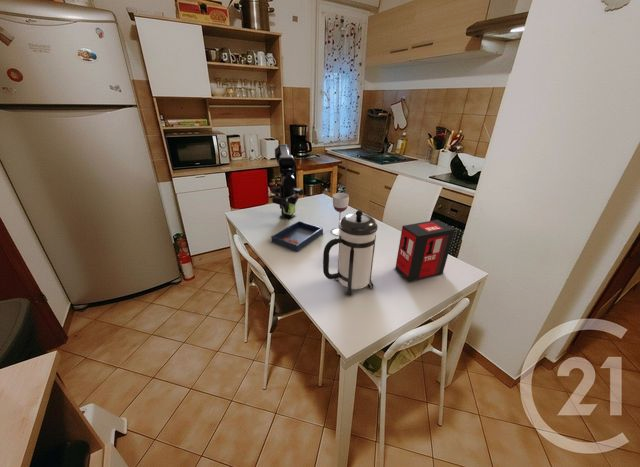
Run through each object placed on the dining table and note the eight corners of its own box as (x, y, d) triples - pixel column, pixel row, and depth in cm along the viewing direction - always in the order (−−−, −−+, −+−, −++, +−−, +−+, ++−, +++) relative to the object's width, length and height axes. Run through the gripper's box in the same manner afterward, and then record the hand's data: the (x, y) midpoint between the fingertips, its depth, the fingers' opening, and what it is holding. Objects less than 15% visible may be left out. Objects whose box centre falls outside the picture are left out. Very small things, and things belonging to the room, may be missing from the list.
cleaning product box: (408, 282, 100) (418, 236, 91) (395, 269, 108) (402, 225, 99) (442, 273, 106) (455, 229, 96) (427, 261, 113) (437, 219, 104)
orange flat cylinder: (285, 238, 128) (285, 237, 128) (292, 241, 127) (292, 239, 126) (280, 242, 126) (280, 240, 125) (286, 244, 124) (286, 242, 123)
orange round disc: (292, 241, 126) (292, 239, 126) (299, 243, 124) (299, 241, 124) (287, 245, 123) (287, 243, 123) (294, 247, 121) (294, 245, 121)
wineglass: (329, 234, 135) (330, 197, 125) (334, 227, 142) (336, 191, 132) (344, 237, 132) (346, 199, 123) (349, 229, 139) (351, 194, 130)
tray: (298, 226, 143) (298, 220, 141) (322, 233, 135) (323, 227, 134) (271, 242, 127) (271, 236, 125) (297, 251, 119) (297, 245, 118)
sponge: (288, 210, 141) (287, 202, 139) (295, 212, 138) (295, 204, 136) (283, 212, 138) (282, 204, 136) (290, 215, 135) (290, 207, 133)
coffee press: (340, 267, 109) (343, 199, 95) (377, 277, 103) (387, 206, 89) (322, 292, 95) (322, 216, 81) (364, 306, 89) (373, 227, 75)
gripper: (287, 175, 141) (288, 202, 149) (262, 184, 127) (265, 213, 135) (303, 179, 136) (304, 206, 143) (280, 188, 122) (282, 218, 129)
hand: (289, 211), depth 138 cm, fingers closed on sponge, 4 cm apart
